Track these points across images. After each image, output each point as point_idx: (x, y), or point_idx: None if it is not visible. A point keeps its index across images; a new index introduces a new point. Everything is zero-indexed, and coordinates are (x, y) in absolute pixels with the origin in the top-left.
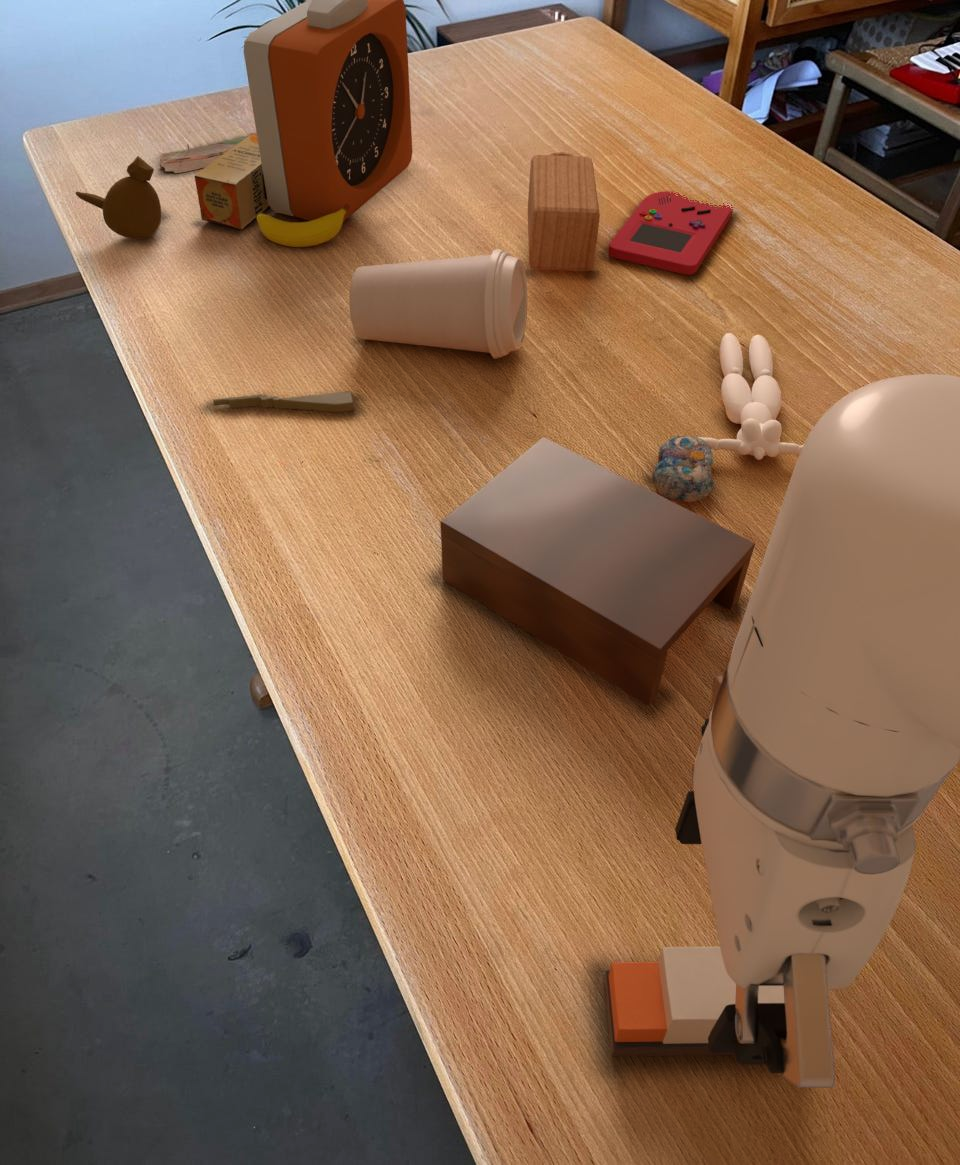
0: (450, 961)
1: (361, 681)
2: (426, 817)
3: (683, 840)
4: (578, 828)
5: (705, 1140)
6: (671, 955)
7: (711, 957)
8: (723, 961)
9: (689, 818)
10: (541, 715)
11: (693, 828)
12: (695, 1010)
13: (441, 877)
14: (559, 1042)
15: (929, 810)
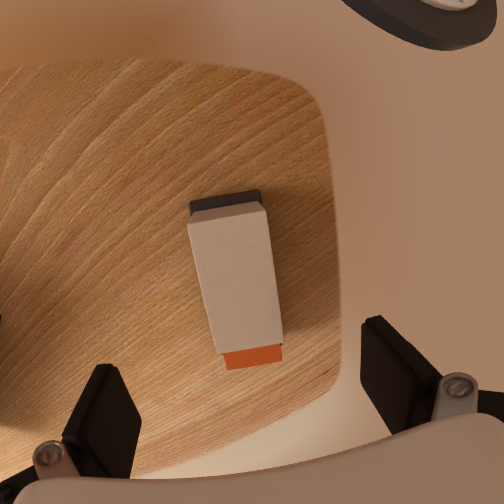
0: (230, 425)
1: None
2: (140, 442)
3: (139, 424)
4: None
5: (330, 269)
6: (224, 347)
7: (218, 313)
8: (220, 303)
9: (131, 465)
10: (40, 385)
11: (131, 441)
12: (273, 325)
13: (176, 434)
14: (273, 366)
15: (28, 81)
